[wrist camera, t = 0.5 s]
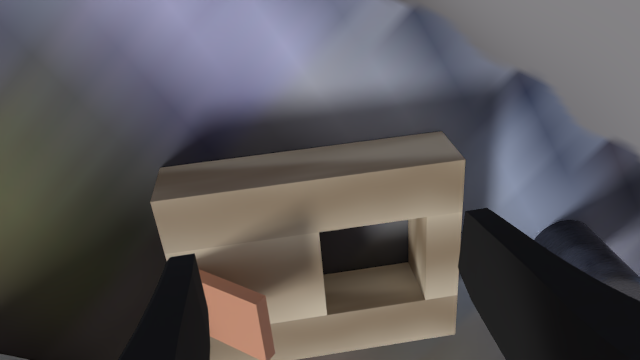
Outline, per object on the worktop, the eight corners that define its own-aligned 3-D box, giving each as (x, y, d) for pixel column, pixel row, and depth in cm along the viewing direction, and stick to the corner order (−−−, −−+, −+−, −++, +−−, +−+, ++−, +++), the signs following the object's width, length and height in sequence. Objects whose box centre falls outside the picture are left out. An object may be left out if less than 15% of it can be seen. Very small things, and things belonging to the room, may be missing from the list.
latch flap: (275, 353, 23) (266, 363, 22) (205, 321, 25) (196, 330, 24) (265, 295, 21) (256, 304, 21) (192, 266, 23) (182, 274, 23)
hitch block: (436, 294, 30) (454, 334, 27) (201, 331, 29) (198, 375, 26) (441, 131, 25) (465, 159, 22) (159, 167, 24) (150, 201, 21)
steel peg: (586, 268, 30) (673, 364, 24) (525, 278, 30) (598, 377, 24) (597, 216, 29) (694, 304, 22) (533, 225, 28) (613, 317, 22)
